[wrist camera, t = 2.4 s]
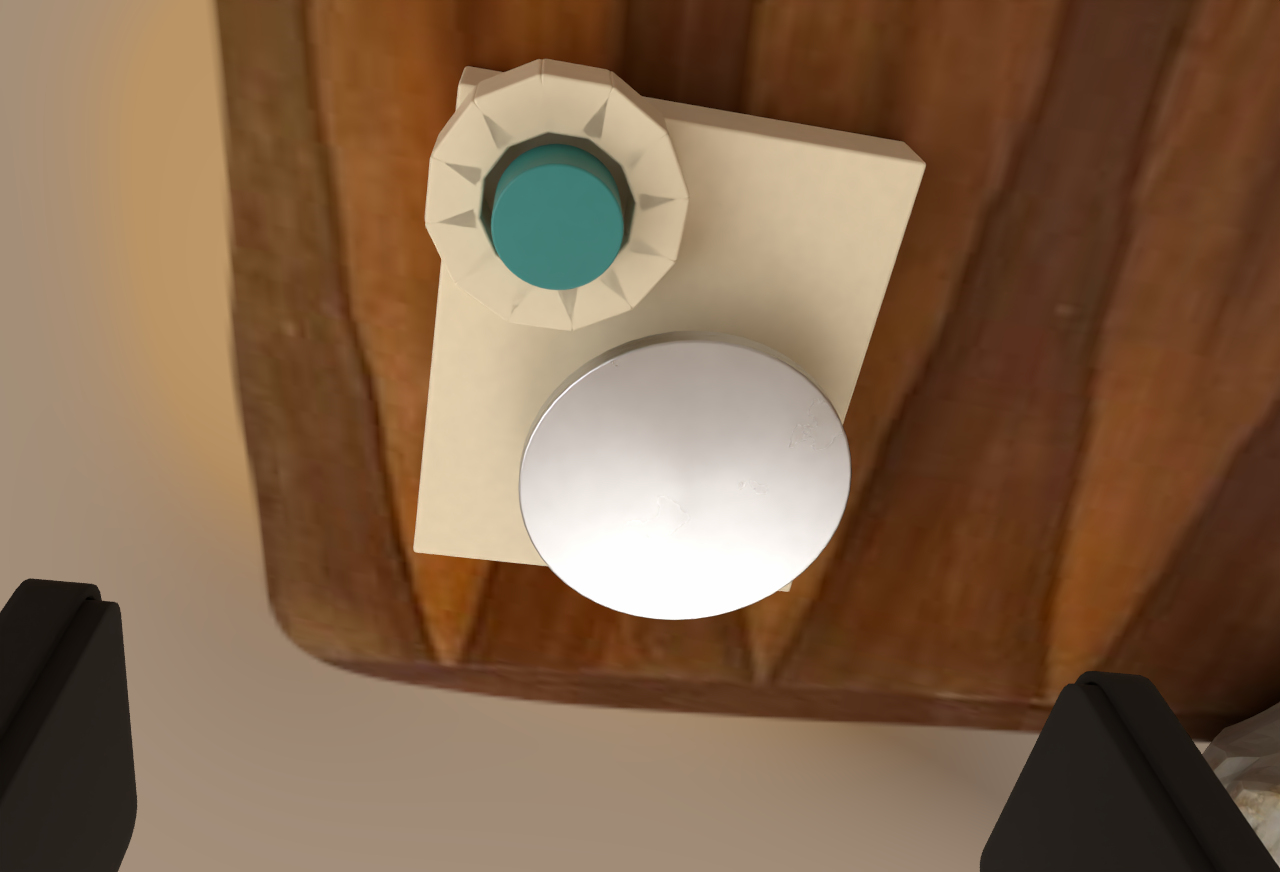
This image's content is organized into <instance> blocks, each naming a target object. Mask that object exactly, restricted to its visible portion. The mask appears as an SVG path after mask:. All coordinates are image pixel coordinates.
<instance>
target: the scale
mask: <svg viewBox="0 0 1280 872" xmlns="http://www.w3.org/2000/svg"><path fill="white" fill-rule="evenodd" d="M547 144H566V145H571V146H575V147H578V148H580V149H583V150H585V151H587V152H589V153H591V154H592V155H594V156H595V157H596V158H598V159H599V160H600V161H601V162H602V163H603V164H604V165H605V166H606V167H607V169H608V170H609V171H610V173H611V174H612V176H613V178H614V180H615V182H616V184H617V187H618V191H619V195H620V201H621V208H622V214H623V221H624V234H623V240H622V244H621V247H620V250H619V252H618V255H617V256H616V258H615V260H614V262H613V263H612V264H611V265H610V267H609V268H608V269H607V270H606V271H605V272H604V273H603V274H602V275H601V276H599V277H598V278H597V279H595V280H593V281H592V282H590V283H588V284H586V285H583V286H581V287H577V288H574V289H568V290H549V289H544V288H539V287H536V286H533V285H531V284H529V283H527V282H525V281H523V280H522V279H520V278H518V277H517V276H516V275H515V274H513V273H512V272H511V271H510V270H509V269H508V268H507V267H506V266H505V264H504V263H503V262H502V260H501V259H500V257H499V255H498V253H497V251H496V249H495V246H494V243H493V239H492V234H491V217H492V211H493V204H494V198H495V193H496V188H497V185H498V182H499V180H500V178H501V176H502V174H503V172H504V171H505V169H506V168H507V167H508V166H509V165H510V163H511V162H512V161H513V160H515V159H516V158H517V157H518V156H519V155H521V154H523V153H524V152H526V151H528V150H530V149H532V148H535V147H538V146H542V145H547ZM925 167H926V163H925V162H924V161H923V160H922V159H921V158H920V157H919V156H918V155H917V154H916V153H915V152H914V151H913V150H912V149H911V148H910V147H909V146H908V145H907V144H906V143H904V142H902V141H896V140H890V139H885V138H879V137H873V136H867V135H862V134H856V133H850V132H844V131H839V130H833V129H827V128H821V127H816V126H810V125H804V124H798V123H793V122H787V121H781V120H775V119H770V118H764V117H758V116H752V115H747V114H741V113H735V112H729V111H724V110H718V109H712V108H706V107H701V106H695V105H689V104H683V103H678V102H672V101H666V100H660V99H655V98H649V97H643V96H641V95H639V94H638V93H637V92H636V91H635V90H634V89H632V88H631V87H630V86H629V85H628V84H627V83H625V82H624V81H623V80H622V79H621V78H620V77H618V76H617V75H616V74H615V73H614V72H612V71H609V70H607V69H602V68H596V67H590V66H585V65H579V64H573V63H568V62H562V61H556V60H551V59H543V60H542V59H537V60H535V61H532V62H530V63H527V64H525V65H522V66H519V67H517V68H514V69H512V70H509V71H507V72H500V71H494V70H488V69H482V68H477V67H471V66H467V67H465V68H464V71H463V74H462V76H461V79H460V82H459V85H458V92H457V102H456V112H455V113H454V114H453V116H452V117H451V118H450V120H449V121H448V122H447V124H446V125H445V126H444V128H443V129H442V130H441V132H440V133H439V135H438V138H437V140H436V143H435V146H434V149H433V151H432V154H431V157H430V163H429V175H428V186H427V198H426V209H425V222H426V223H425V226H426V228H427V230H428V232H429V234H430V236H431V238H432V240H433V242H434V244H435V247H436V249H437V251H438V253H439V255H440V257H441V268H440V279H439V289H438V299H437V310H436V320H435V330H434V341H433V351H432V362H431V372H430V382H429V393H428V403H427V413H426V424H425V434H424V445H423V455H422V465H421V476H420V486H419V496H418V507H417V517H416V527H415V538H414V548H413V549H414V551H415V552H419V553H428V554H437V555H447V556H456V557H466V558H475V559H485V560H494V561H503V562H513V563H522V564H532V565H541V566H548V565H547V564H546V563H545V562H544V561H543V559H542V558H541V557H540V555H539V554H538V552H537V550H536V549H535V547H534V545H533V544H532V542H531V540H530V538H529V535H528V533H527V530H526V528H525V526H524V522H523V518H522V514H521V510H520V504H519V492H518V485H519V470H520V459H521V455H522V450H523V446H524V442H525V439H526V437H527V434H528V432H529V429H530V427H531V424H532V422H533V421H534V419H535V417H536V415H537V414H538V412H539V410H540V409H541V407H542V405H543V404H544V403H545V402H546V400H547V399H548V398H549V396H550V395H551V394H552V393H553V391H554V390H555V389H556V388H557V387H558V386H559V385H560V384H561V383H562V382H563V381H564V380H565V379H566V378H567V377H568V376H569V375H571V374H572V373H573V372H575V371H576V370H577V369H579V368H580V367H581V366H583V365H584V364H585V363H587V362H588V361H590V360H591V359H593V358H595V357H597V356H599V355H600V354H602V353H604V352H606V351H607V350H610V349H612V348H614V347H617V346H619V345H621V344H624V343H626V342H629V341H632V340H636V339H639V338H643V337H646V336H650V335H655V334H661V333H667V332H673V331H710V332H721V333H726V334H730V335H735V336H740V337H744V338H747V339H750V340H753V341H756V342H759V343H761V344H764V345H766V346H768V347H770V348H772V349H774V350H776V351H778V352H780V353H782V354H784V355H785V356H787V357H788V358H790V359H791V360H792V361H794V362H795V363H797V364H798V365H800V366H801V367H802V368H803V369H804V370H805V371H806V372H807V373H808V374H810V375H811V376H812V377H813V378H814V379H815V380H816V382H817V383H818V384H819V385H820V387H821V388H822V389H823V390H824V391H825V393H826V394H827V396H828V397H829V399H830V401H831V403H832V404H833V406H834V408H835V409H836V411H837V414H838V416H839V418H840V420H841V423H842V425H843V422H844V419H845V416H846V413H847V410H848V407H849V404H850V401H851V398H852V394H853V391H854V388H855V385H856V382H857V379H858V376H859V373H860V370H861V366H862V363H863V360H864V357H865V354H866V351H867V348H868V345H869V342H870V338H871V335H872V332H873V329H874V326H875V323H876V320H877V317H878V314H879V310H880V307H881V304H882V301H883V298H884V295H885V292H886V289H887V286H888V282H889V279H890V276H891V273H892V270H893V267H894V264H895V261H896V258H897V254H898V251H899V248H900V245H901V242H902V239H903V236H904V233H905V229H906V226H907V223H908V220H909V217H910V214H911V211H912V208H913V205H914V201H915V198H916V195H917V192H918V189H919V186H920V183H921V180H922V177H923V173H924V170H925ZM791 584H792V581H791V582H790V583H789V584H788V585H786V586H784V587H783V588H781V589H780V590H778V591H786V592H787V591H789V590H790V587H791Z"/></svg>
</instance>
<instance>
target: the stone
mask: <svg viewBox="0 0 1280 872" xmlns="http://www.w3.org/2000/svg"><path fill="white" fill-rule="evenodd" d="M1202 755H1203V757H1204V758H1205V760H1206V761H1207V763H1208V764H1209V766H1210V767H1211V769H1212V770H1213V771H1214V773H1215V774H1216V776H1217V777H1218V779H1219V780H1220V782H1221V783H1222V785H1223V786H1224V787H1225V789H1226V790H1227V792H1228V793H1229V795H1230V796H1231V798H1232V799H1233V801H1234V802H1235V804H1236V805H1237V806H1238V808H1239V809H1240V811H1241V812H1242V814H1243V815H1244V817H1245V818H1246V820H1247V821H1248V822H1249V824H1250V825H1251V827H1252V828H1253V830H1254V831H1255V833H1256V834H1257V836H1258V837H1259V838H1260V840H1261V841H1262V843H1263V844H1264V846H1265V847H1266V849H1267V850H1268V852H1269V853H1270V855H1271V856H1272V857H1273V859H1274V860H1275V862H1276V863H1277V865H1278V866H1279V868H1280V702H1279V703H1277V704H1276V705H1274V706H1272V707H1271V708H1269V709H1267V710H1265V711H1263V712H1261V713H1259V714H1257V715H1255V716H1253V717H1251V718H1249V719H1246V720H1244V721H1242V722H1239V723H1237V724H1234V725H1231V726H1228V727H1226V728H1224V729H1223V730H1222V731H1221V732H1220V733H1219V734H1218V735H1217V736H1216V737H1215V738H1214V739H1213V741H1212V742H1211V743H1210V745H1209V746H1208V747H1207V749H1206V750H1205V752H1204V753H1203V754H1202Z"/></svg>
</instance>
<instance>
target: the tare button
mask: <svg viewBox="0 0 1280 872" xmlns="http://www.w3.org/2000/svg"><path fill="white" fill-rule="evenodd" d="M491 234H492V239H493V243H494V246H495V249H496V251H497V253H498V255H499V257H500V259H501V260H502V262H503V263H504V264H505V266H506V267H507V268H508V269H509V270H510V271H511V272H512V273H513V274H515V275H516V276H517V277H518V278H520V279H522V280H523V281H525V282H527V283H529V284H531V285H533V286H536V287H539V288H544V289H549V290H568V289H574V288H577V287H581V286H583V285H586V284H588V283H590V282H592V281H593V280H595V279H597V278H598V277H599V276H601V275H602V274H603V273H604V272H605V271H606V270H607V269H608V268H609V267H610V265H611V264H612V263H613V262H614V260H615V258H616V256H617V255H618V252H619V250H620V247H621V244H622V240H623V234H624V221H623V214H622V208H621V201H620V195H619V191H618V187H617V184H616V182H615V180H614V178H613V176H612V174H611V173H610V171H609V170H608V169H607V167H606V166H605V165H604V164H603V163H602V162H601V161H600V160H599V159H598V158H596V157H595V156H594V155H592V154H591V153H589V152H587V151H585V150H583V149H580V148H578V147H575V146H571V145H566V144H547V145H542V146H538V147H535V148H532V149H530V150H528V151H526V152H524V153H523V154H521V155H519V156H518V157H517V158H516V159H515V160H513V161H512V162H511V163H510V165H509V166H508V167H507V168H506V169H505V171H504V172H503V174H502V176H501V178H500V180H499V182H498V185H497V188H496V193H495V198H494V204H493V211H492V217H491Z"/></svg>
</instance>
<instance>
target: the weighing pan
mask: <svg viewBox="0 0 1280 872" xmlns="http://www.w3.org/2000/svg"><path fill="white" fill-rule="evenodd" d="M851 476H852V468H851V454H850V449H849V444H848V439H847V436H846V433H845V431H844V428H843V425H842V423H841V420H840V418H839V416H838V414H837V411H836V409H835V408H834V406H833V404H832V403H831V401H830V399H829V397H828V396H827V394H826V393H825V391H824V390H823V389H822V388H821V387H820V385H819V384H818V383H817V382H816V380H815V379H814V378H813V377H812V376H811V375H810V374H808V373H807V372H806V371H805V370H804V369H803V368H802V367H801V366H800V365H798V364H797V363H795V362H794V361H792V360H791V359H790V358H788V357H787V356H785V355H784V354H782V353H780V352H778V351H776V350H774V349H772V348H770V347H768V346H766V345H764V344H761V343H759V342H756V341H753V340H750V339H747V338H744V337H740V336H735V335H730V334H726V333H721V332H710V331H673V332H667V333H661V334H655V335H650V336H646V337H643V338H639V339H636V340H632V341H629V342H626V343H624V344H621V345H619V346H617V347H614V348H612V349H610V350H607V351H606V352H604V353H602V354H600V355H599V356H597V357H595V358H593V359H591V360H590V361H588V362H587V363H585V364H584V365H583V366H581V367H580V368H579V369H577V370H576V371H575V372H573V373H572V374H571V375H569V376H568V377H567V378H566V379H565V380H564V381H563V382H562V383H561V384H560V385H559V386H558V387H557V388H556V389H555V390H554V391H553V393H552V394H551V395H550V396H549V398H548V399H547V400H546V402H545V403H544V404H543V405H542V407H541V409H540V410H539V412H538V414H537V415H536V417H535V419H534V421H533V422H532V424H531V427H530V429H529V432H528V434H527V437H526V439H525V442H524V446H523V450H522V455H521V459H520V470H519V485H518V492H519V504H520V510H521V514H522V518H523V522H524V526H525V528H526V530H527V533H528V535H529V538H530V540H531V542H532V544H533V545H534V547H535V549H536V550H537V552H538V554H539V555H540V557H541V558H542V559H543V561H544V562H545V563H546V564H547V565H548V567H549V568H550V569H551V570H552V571H553V572H554V573H555V574H556V575H557V576H558V577H559V578H560V579H561V580H562V581H563V582H564V583H566V584H567V585H568V586H570V587H571V588H572V589H574V590H575V591H577V592H578V593H580V594H581V595H583V596H585V597H586V598H588V599H590V600H592V601H594V602H596V603H598V604H600V605H603V606H605V607H608V608H610V609H613V610H615V611H619V612H622V613H626V614H630V615H634V616H639V617H645V618H652V619H666V620H683V619H697V618H704V617H710V616H716V615H720V614H724V613H728V612H731V611H735V610H738V609H740V608H743V607H746V606H749V605H751V604H754V603H756V602H758V601H760V600H762V599H764V598H766V597H768V596H770V595H772V594H773V593H775V592H777V591H778V590H780V589H781V588H783V587H784V586H786V585H788V584H789V583H790V582H791V581H793V580H794V579H795V578H796V577H798V576H799V575H800V574H801V573H803V572H804V571H805V570H806V569H807V568H808V567H809V566H810V565H811V564H812V563H813V562H814V561H815V560H816V559H817V557H818V556H819V555H820V554H821V552H822V551H823V550H824V548H825V547H826V546H827V544H828V543H829V541H830V540H831V538H832V536H833V535H834V533H835V531H836V530H837V528H838V526H839V523H840V521H841V518H842V516H843V514H844V511H845V508H846V504H847V501H848V497H849V493H850V485H851Z"/></svg>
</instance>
